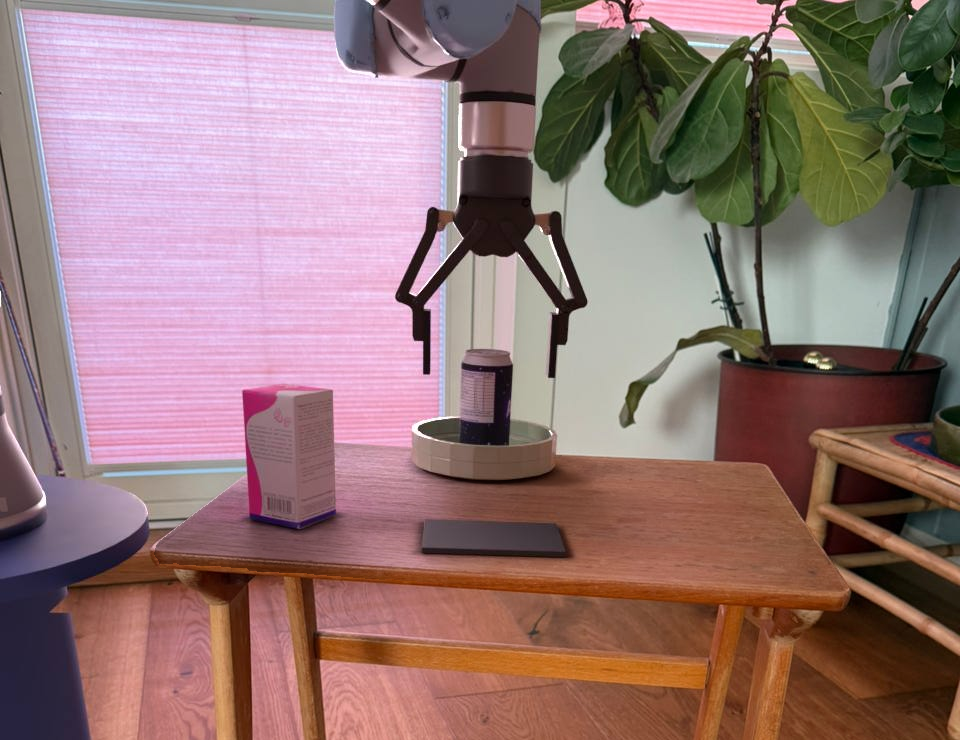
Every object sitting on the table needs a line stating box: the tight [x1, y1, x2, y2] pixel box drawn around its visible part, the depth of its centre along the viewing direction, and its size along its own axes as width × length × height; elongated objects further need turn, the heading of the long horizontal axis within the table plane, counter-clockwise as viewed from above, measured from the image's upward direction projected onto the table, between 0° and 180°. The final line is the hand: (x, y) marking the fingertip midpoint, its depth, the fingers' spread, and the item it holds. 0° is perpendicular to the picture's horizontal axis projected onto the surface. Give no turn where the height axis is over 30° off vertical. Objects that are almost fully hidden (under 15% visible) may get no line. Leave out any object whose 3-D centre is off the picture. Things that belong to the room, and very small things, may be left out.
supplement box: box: [241, 383, 337, 530], centre depth 81 cm, size 6×6×12 cm
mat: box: [421, 518, 567, 558], centre depth 79 cm, size 12×8×1 cm, turn 92°
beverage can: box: [459, 348, 514, 446], centre depth 101 cm, size 6×6×12 cm
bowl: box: [411, 416, 558, 481], centre depth 103 cm, size 16×16×4 cm
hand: (488, 374), depth 100 cm, fingers open, 13 cm apart
